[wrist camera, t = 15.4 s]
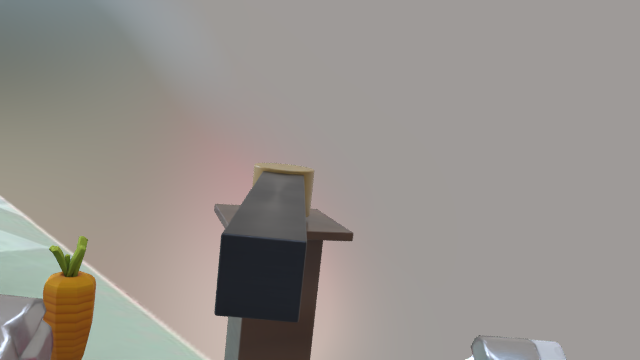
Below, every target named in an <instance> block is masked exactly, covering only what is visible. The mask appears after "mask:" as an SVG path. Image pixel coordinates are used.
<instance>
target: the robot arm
mask: <svg viewBox="0 0 640 360" xmlns="http://www.w3.org/2000/svg"><path fill="white" fill-rule="evenodd" d="M46 311H47V310H46V307H45V304H44V302H43V299H38V298H29V297H20V296H11V295H2V294H0V360H50V358H51V354H52V350H53V332H52V328H51V326H50V325H49V324H47V323H46V322H45V321H44V320H42V319H43V317H44V315H45V313H46ZM471 349H472V354H473V356H472V357H470V358H469V359H467V360H566V357H565V354H564V352H563V350H562V347H561V346H560V345H559V344H558V343H557V342H552V341H539V340H528V339H522V338H507V337H495V336H481V335H479V336H478V337H476V338H475V339H474V341H473V343H472V346H471Z"/></svg>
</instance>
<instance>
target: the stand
mask: <svg viewBox="0 0 640 360" xmlns="http://www.w3.org/2000/svg"><path fill="white" fill-rule="evenodd" d="M240 206H241V205H223V204H215V208H214V211H215V213H216V215H217V216H218V218H219V219H220V221H221V223H222V224H223V226H224V228H225V229H226V227H227V226H228V224H229V222H230V221H231V219H232V218H233V216H234V215H235V213H236V212H237V210H238V209H239V207H240ZM306 234H307V247H306V257H305V266H304V276H303V285H302V294H301V304H300V313H299V321H298V322H297V323H294V322H283V321H272V320H261V319H249V318H238V317H228V327H227V337H226V348H225V360H310V355H311V346H312V336H313V327H314V318H315V309H316V299H317V291H318V282H319V272H320V263H321V254H322V244H323V240H332V241H352V239H353V233H352V232H351V231H349V230H348V229H346V228H345V227H343V226H342V225H340V224H338V223H337V222H336V221H334V220H333V219H331V218H329V217H328V216H326V215H325V214H323V213H322V212H320V211H319V210H317V209H310V215H309V216H308V217H306Z"/></svg>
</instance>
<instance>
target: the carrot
mask: <svg viewBox="0 0 640 360" xmlns="http://www.w3.org/2000/svg"><path fill="white" fill-rule="evenodd" d="M87 241H88V239H86V238H85V237H84V236H80V237H79V240H78V244H77V249H76V251H75V253H74V255H73V257H72V259H71V261H70V255H68V254H67V255H65V258H64V254H63V252H62V250H61V249H60V248H59V247H58V246H51V247H50V248H49V250H50V251H51V252H52V253H53V254H54V256H55V257H56V259H57V261H58V263H59V265H60V267H61V269H62V271H63V272H59V273H55V274H53V275H51V276H50V277H49V278H48V280H47V281H46V283H45V286H44V290H43V302H44V304H45V307H46V310H47V311H46V313H45V315H44V317H43V320H44V321H45V322H46V323H47V324H49V325H50V326H51V328H52V332H53V350H52V354H51V358H50V360H81V359H82V357H83V355H84V351H85V347H86V344H87V340H88V336H89V332H90V328H91V324H92V318H93V310H94V301H95V289H96V281H95V278H94V277H93V276H92V275H90V274H87V273H84V272H81V271H79V268H80V266H81V263H82V260H83V257H84V254H85V251H86V245H87Z"/></svg>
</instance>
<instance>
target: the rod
mask: <svg viewBox="0 0 640 360" xmlns="http://www.w3.org/2000/svg"><path fill="white" fill-rule="evenodd" d="M313 178H314V170H313V169H311V168H307V167H302V166H296V165H288V164H277V163H258V164H255V166H254V177H253V187H252V189H251V190H250V192H249V193H248V195H247V196H246V198H245V200H244V201H243V203H242V204H241V206H240V207H239V209H238V210H237V212H236V213H235V215H234V216H233V218H232V219H231V221H230V222H229V224H228V226H227V227H226V229H225V230H224V232H223V233H222V235H221V245H220V256H219V267H218V278H217V290H216V302H215V315H217V316H227V317H238V318H249V319H261V320H272V321H283V322H294V323H297V322H298V321H299V313H300V304H301V294H302V285H303V276H304V266H305V257H306V247H307V234H306V217H308V216H309V215H310V206H311V196H312V188H313Z"/></svg>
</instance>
